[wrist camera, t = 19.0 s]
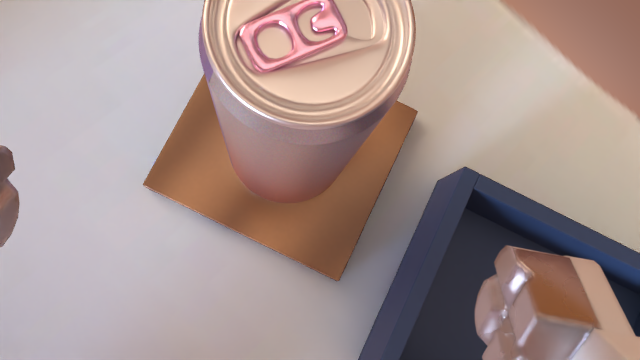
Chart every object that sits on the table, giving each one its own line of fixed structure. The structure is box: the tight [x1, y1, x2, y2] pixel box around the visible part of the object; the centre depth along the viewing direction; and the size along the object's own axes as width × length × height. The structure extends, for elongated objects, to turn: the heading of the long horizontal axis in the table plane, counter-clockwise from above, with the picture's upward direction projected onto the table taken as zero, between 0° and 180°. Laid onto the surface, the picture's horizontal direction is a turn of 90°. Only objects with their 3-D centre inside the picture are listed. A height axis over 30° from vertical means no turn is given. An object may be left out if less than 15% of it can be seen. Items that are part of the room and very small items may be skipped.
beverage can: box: [199, 0, 416, 203], centre depth 22 cm, size 6×6×15 cm
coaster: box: [143, 73, 418, 281], centre depth 30 cm, size 11×10×1 cm
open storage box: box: [358, 167, 640, 360], centre depth 28 cm, size 14×11×4 cm
